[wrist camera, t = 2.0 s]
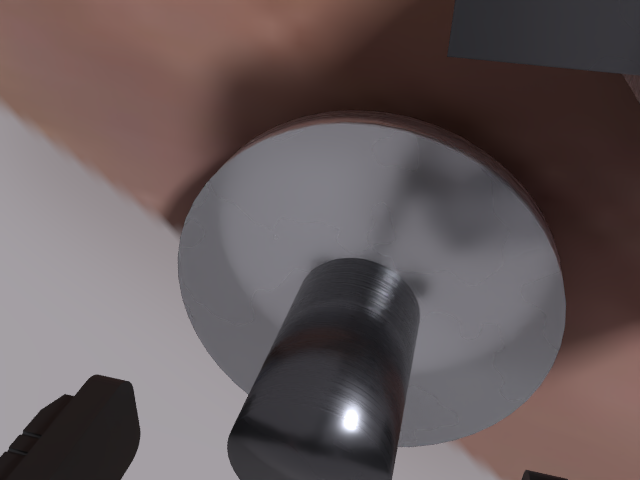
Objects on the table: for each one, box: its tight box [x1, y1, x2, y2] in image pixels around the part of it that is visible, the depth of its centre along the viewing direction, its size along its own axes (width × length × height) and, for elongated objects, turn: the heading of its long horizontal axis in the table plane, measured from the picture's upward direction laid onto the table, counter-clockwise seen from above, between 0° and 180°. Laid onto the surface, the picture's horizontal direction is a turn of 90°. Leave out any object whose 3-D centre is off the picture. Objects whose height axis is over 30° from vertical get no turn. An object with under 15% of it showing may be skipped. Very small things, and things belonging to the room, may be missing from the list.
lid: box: [178, 110, 566, 480], centre depth 15 cm, size 10×10×8 cm
